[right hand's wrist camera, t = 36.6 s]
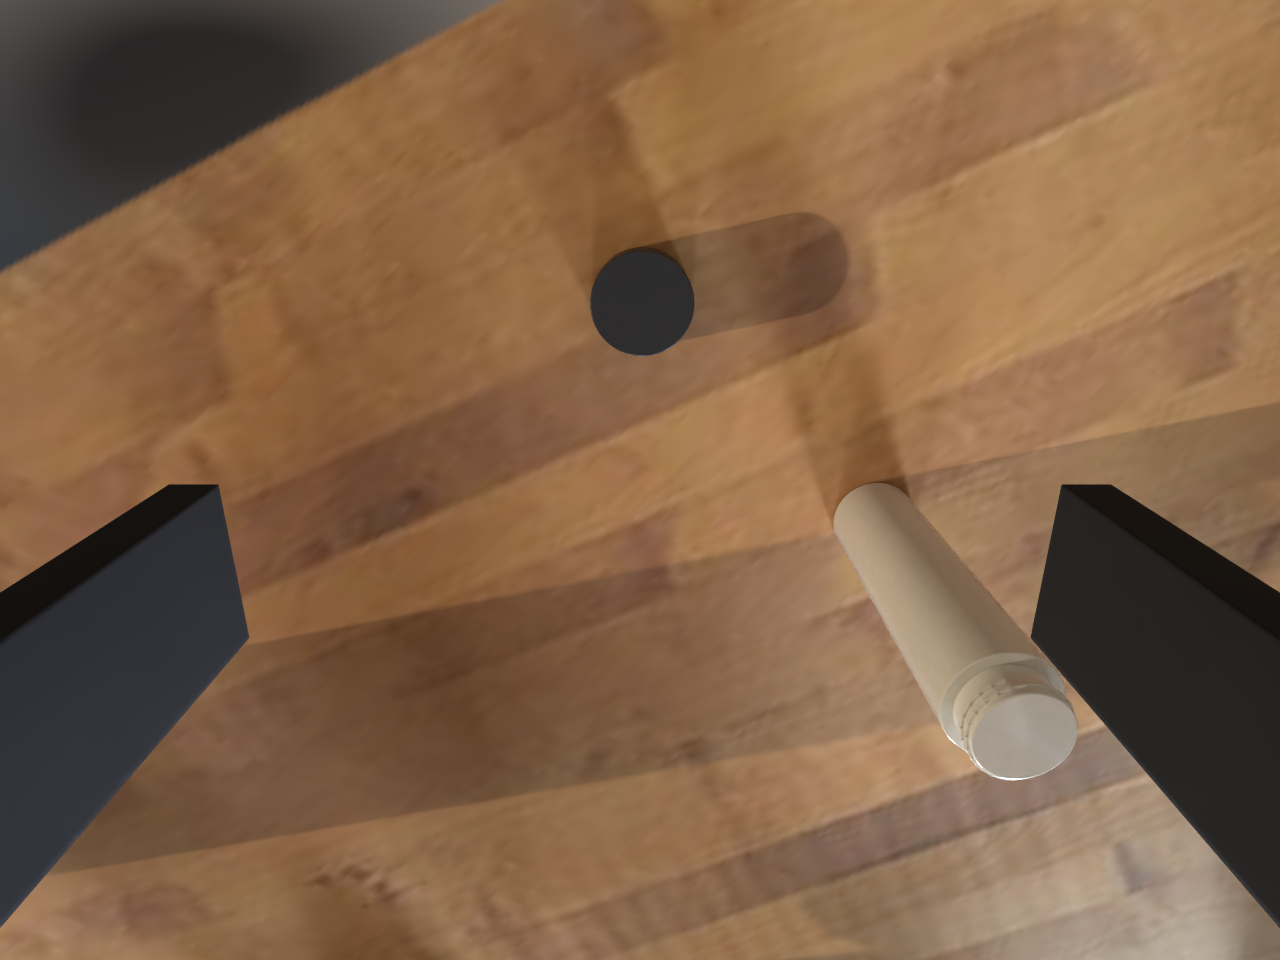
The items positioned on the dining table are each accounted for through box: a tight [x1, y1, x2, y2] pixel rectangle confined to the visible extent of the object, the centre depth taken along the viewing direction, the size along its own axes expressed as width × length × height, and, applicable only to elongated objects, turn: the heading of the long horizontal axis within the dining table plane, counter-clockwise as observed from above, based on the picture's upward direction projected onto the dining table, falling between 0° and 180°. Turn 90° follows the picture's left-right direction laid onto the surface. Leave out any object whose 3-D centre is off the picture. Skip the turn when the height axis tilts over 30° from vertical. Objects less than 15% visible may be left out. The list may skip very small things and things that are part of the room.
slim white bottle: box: [834, 483, 1078, 780], centre depth 35 cm, size 4×4×18 cm
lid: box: [590, 248, 694, 356], centre depth 39 cm, size 5×5×2 cm
